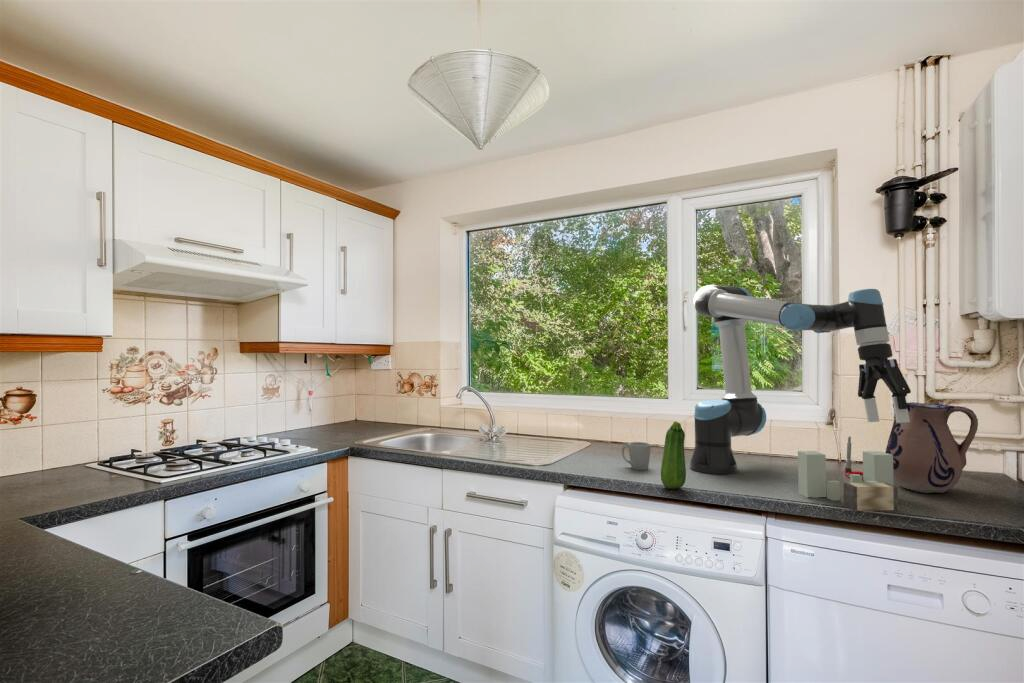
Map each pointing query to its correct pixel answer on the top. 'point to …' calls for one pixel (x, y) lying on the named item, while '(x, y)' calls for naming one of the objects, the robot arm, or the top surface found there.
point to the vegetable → (674, 458)
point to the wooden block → (870, 496)
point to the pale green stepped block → (815, 476)
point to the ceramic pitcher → (928, 448)
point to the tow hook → (848, 461)
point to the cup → (638, 455)
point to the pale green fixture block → (875, 468)
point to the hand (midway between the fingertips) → (887, 422)
